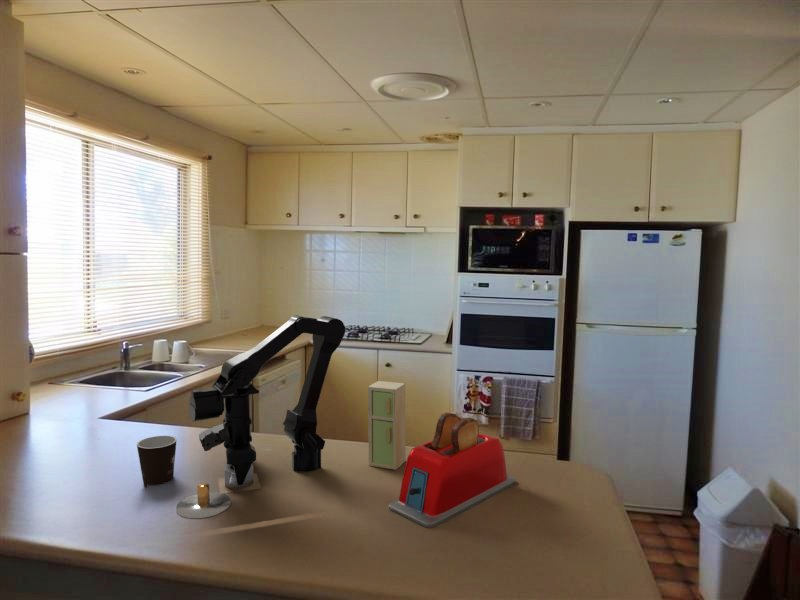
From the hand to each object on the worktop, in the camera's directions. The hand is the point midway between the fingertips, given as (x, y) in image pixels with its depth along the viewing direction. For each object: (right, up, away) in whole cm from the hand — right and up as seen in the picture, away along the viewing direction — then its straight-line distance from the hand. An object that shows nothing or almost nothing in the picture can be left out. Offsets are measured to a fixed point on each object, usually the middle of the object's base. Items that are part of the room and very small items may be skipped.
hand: (239, 478), depth 129 cm
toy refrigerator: (+34, -1, +14) cm, 37 cm away
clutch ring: (0, -1, 0) cm, 1 cm away
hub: (-4, -3, -11) cm, 12 cm away
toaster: (+51, -3, -3) cm, 51 cm away
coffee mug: (-19, -2, +3) cm, 20 cm away
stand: (0, -2, 0) cm, 2 cm away
